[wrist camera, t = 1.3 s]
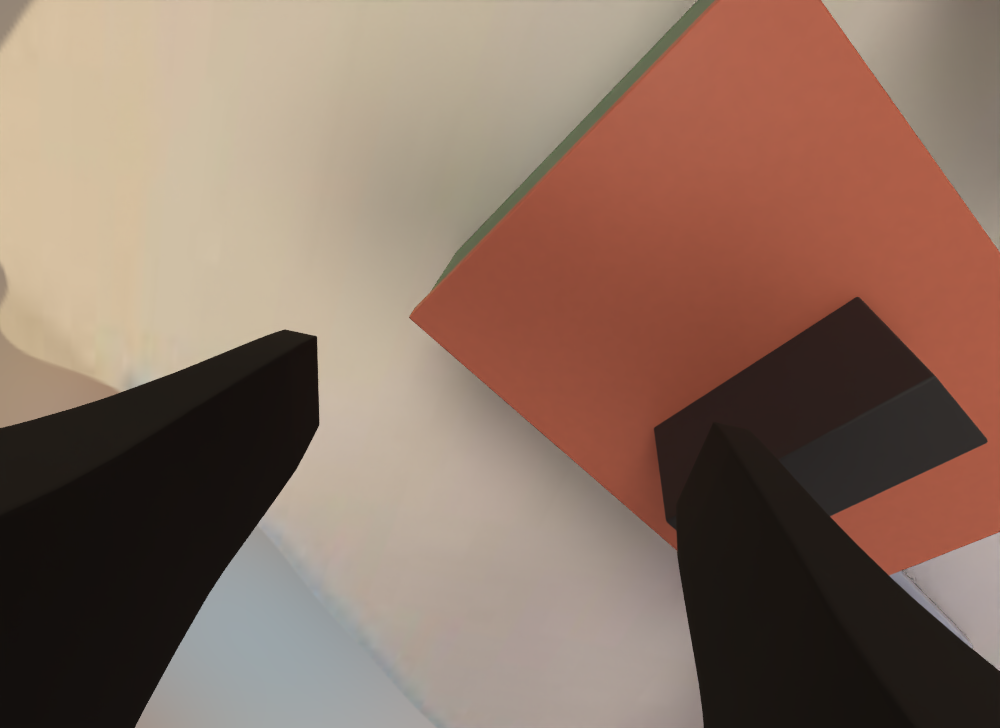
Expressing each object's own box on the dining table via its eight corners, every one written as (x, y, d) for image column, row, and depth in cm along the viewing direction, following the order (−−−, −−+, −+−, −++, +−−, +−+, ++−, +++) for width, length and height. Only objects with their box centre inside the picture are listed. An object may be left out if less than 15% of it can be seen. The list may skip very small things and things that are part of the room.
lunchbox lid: (1136, 455, 15) (1308, 592, 11) (758, 610, 20) (793, 737, 16) (770, -57, 11) (855, -101, 7) (414, 308, 16) (359, 389, 12)
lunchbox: (1021, 367, 19) (1130, 455, 15) (734, 515, 24) (759, 608, 20) (723, -28, 14) (768, -48, 11) (454, 254, 20) (419, 308, 16)
